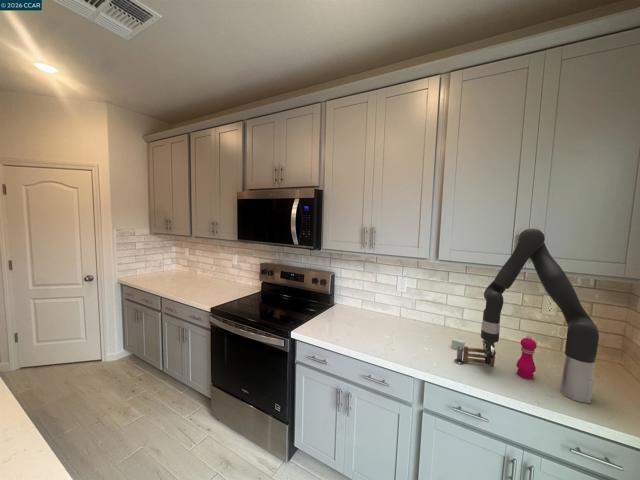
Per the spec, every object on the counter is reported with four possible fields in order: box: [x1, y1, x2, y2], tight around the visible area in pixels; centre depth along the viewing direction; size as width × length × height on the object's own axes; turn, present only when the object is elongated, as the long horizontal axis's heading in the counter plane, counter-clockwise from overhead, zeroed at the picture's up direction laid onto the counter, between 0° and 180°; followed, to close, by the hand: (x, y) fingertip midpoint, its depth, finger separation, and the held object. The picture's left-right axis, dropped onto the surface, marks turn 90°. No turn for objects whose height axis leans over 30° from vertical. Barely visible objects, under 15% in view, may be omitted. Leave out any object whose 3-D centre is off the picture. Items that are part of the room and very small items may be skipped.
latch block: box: [451, 337, 466, 352], centre depth 153 cm, size 6×3×5 cm, turn 52°
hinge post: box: [454, 346, 465, 366], centre depth 139 cm, size 4×4×8 cm
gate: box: [462, 345, 496, 367], centre depth 137 cm, size 14×2×8 cm, turn 80°
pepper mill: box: [516, 334, 537, 380], centre depth 128 cm, size 7×7×20 cm
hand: (487, 363), depth 133 cm, fingers closed
